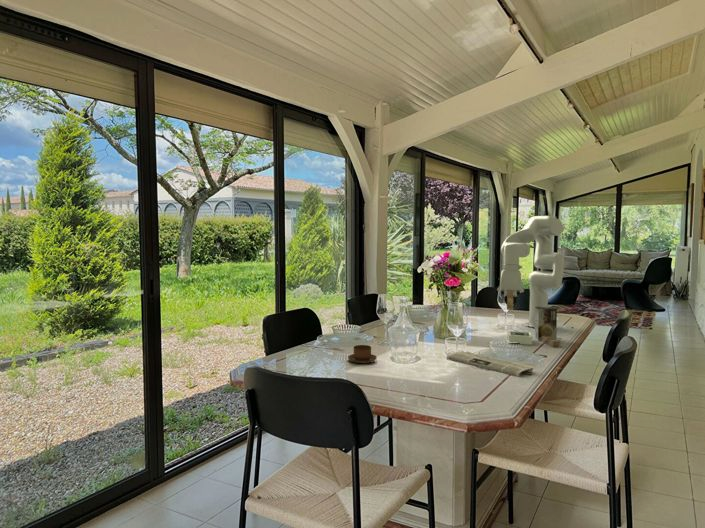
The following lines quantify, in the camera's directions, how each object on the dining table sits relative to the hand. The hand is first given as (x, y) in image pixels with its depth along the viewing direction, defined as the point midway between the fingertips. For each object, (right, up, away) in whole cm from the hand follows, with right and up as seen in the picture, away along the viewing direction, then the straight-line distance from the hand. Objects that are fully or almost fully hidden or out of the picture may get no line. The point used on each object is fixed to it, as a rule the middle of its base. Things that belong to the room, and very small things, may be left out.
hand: (510, 303), depth 254 cm
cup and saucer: (-76, -21, -43) cm, 89 cm away
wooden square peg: (0, -3, 0) cm, 3 cm away
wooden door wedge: (+15, -19, -13) cm, 27 cm away
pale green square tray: (+2, -18, -7) cm, 20 cm away
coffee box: (+17, -18, -1) cm, 25 cm away
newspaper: (-23, -22, -48) cm, 58 cm away
